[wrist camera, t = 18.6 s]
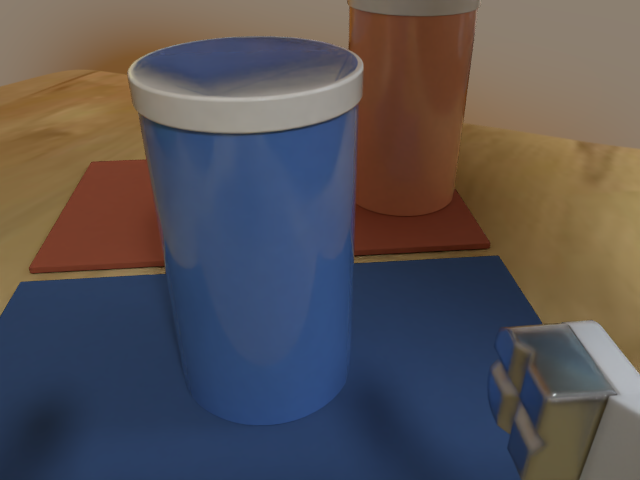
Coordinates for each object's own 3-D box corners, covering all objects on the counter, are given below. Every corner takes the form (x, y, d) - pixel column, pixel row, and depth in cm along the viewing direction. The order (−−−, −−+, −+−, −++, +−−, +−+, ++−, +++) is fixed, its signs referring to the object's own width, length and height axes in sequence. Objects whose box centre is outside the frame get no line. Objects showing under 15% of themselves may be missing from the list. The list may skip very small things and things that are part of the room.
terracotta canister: (438, 165, 33) (460, -27, 28) (470, 214, 28) (503, -7, 23) (337, 170, 33) (340, -24, 28) (351, 220, 28) (358, -4, 23)
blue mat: (497, 260, 25) (498, 255, 25) (637, 480, 16) (640, 474, 16) (22, 287, 24) (20, 281, 24) (-128, 547, 15) (-133, 540, 14)
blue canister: (342, 302, 22) (347, 33, 17) (366, 421, 18) (384, 93, 12) (189, 312, 22) (147, 38, 17) (170, 436, 17) (102, 102, 12)
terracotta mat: (428, 152, 36) (429, 147, 35) (489, 248, 26) (490, 242, 26) (92, 166, 34) (91, 161, 34) (30, 273, 25) (28, 267, 25)
